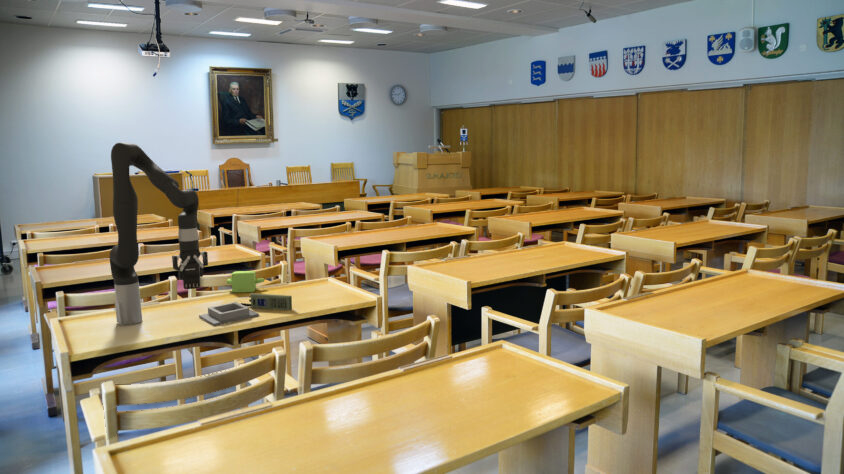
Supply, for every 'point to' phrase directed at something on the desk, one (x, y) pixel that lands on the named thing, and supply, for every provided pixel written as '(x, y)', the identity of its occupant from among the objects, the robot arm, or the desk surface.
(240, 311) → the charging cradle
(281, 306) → the handheld radio
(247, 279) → the gearbox
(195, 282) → the battery
